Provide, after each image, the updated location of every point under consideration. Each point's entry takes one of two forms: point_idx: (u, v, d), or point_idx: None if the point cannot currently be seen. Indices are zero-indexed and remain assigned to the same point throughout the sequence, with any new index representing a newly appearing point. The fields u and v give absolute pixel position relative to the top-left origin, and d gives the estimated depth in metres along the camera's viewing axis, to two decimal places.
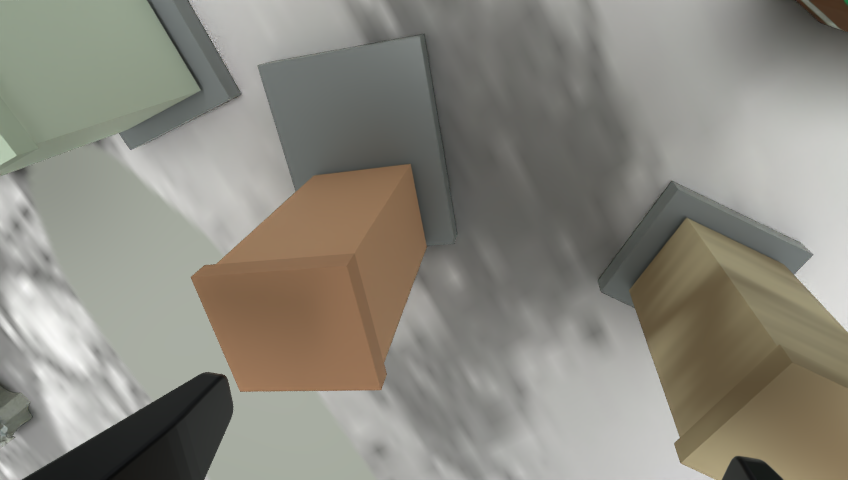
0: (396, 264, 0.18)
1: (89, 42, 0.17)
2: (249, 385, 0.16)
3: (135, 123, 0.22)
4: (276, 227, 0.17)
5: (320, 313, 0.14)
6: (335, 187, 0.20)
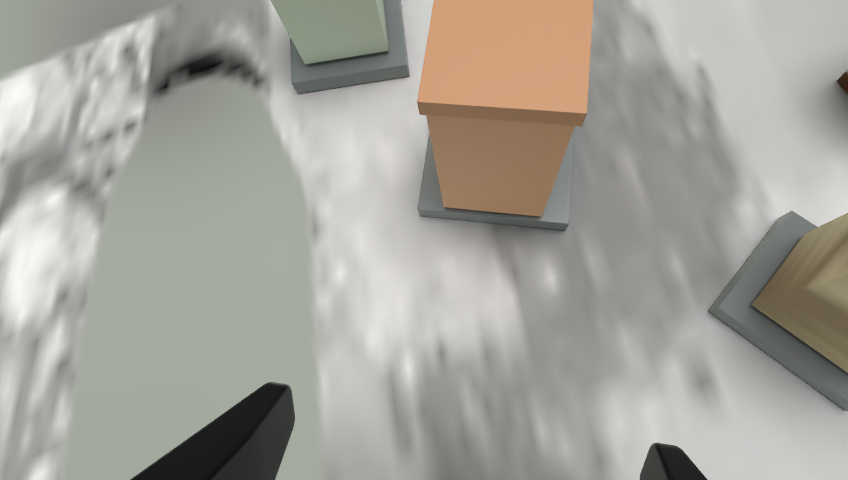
0: None
1: None
2: (433, 94, 0.15)
3: (323, 51, 0.26)
4: None
5: (551, 26, 0.15)
6: None
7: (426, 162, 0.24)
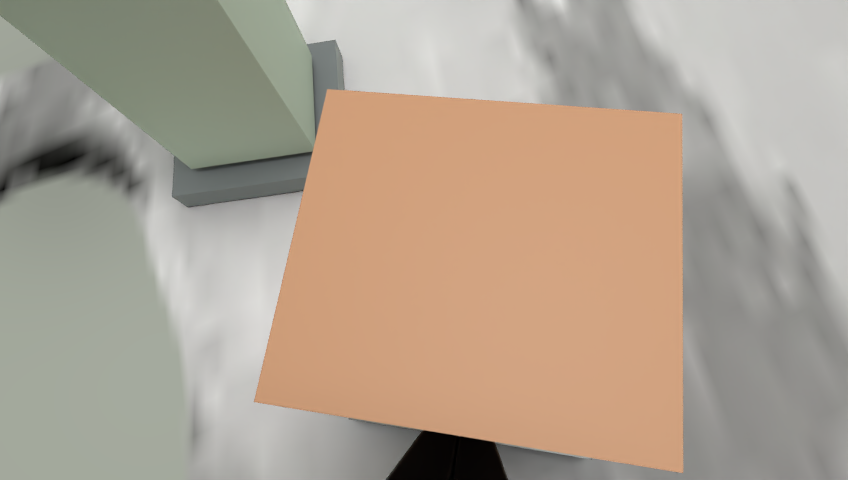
0: None
1: (267, 2, 0.14)
2: (293, 384, 0.06)
3: (214, 153, 0.17)
4: None
5: (582, 209, 0.06)
6: None
7: None
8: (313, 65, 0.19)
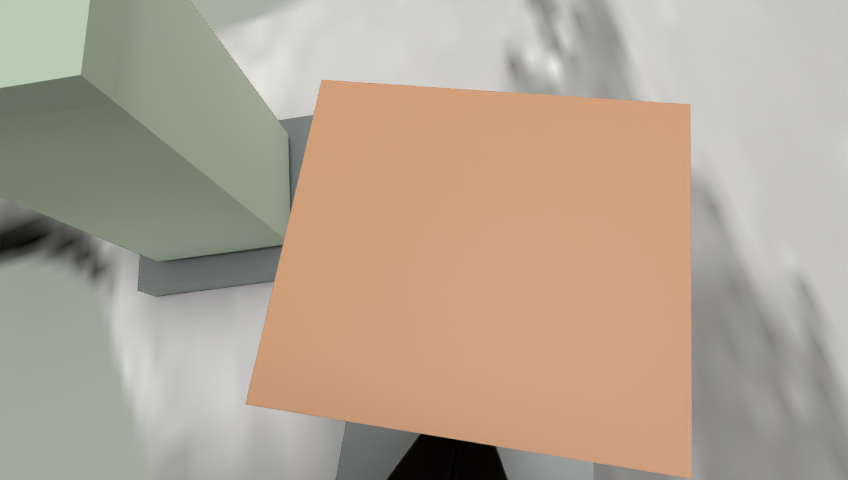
0: None
1: (231, 104, 0.13)
2: (286, 386, 0.06)
3: (180, 250, 0.16)
4: None
5: (587, 204, 0.06)
6: None
7: (342, 457, 0.14)
8: (290, 143, 0.17)
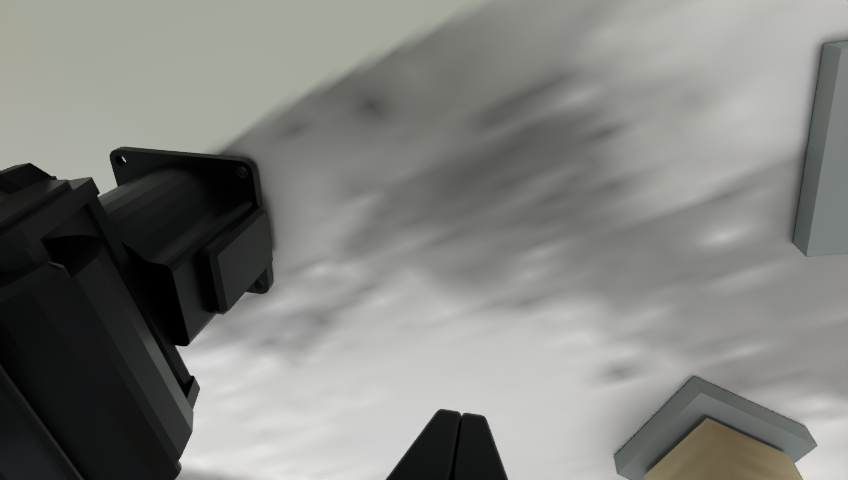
0: None
1: None
2: None
3: None
4: None
5: None
6: None
7: None
8: None
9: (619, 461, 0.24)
